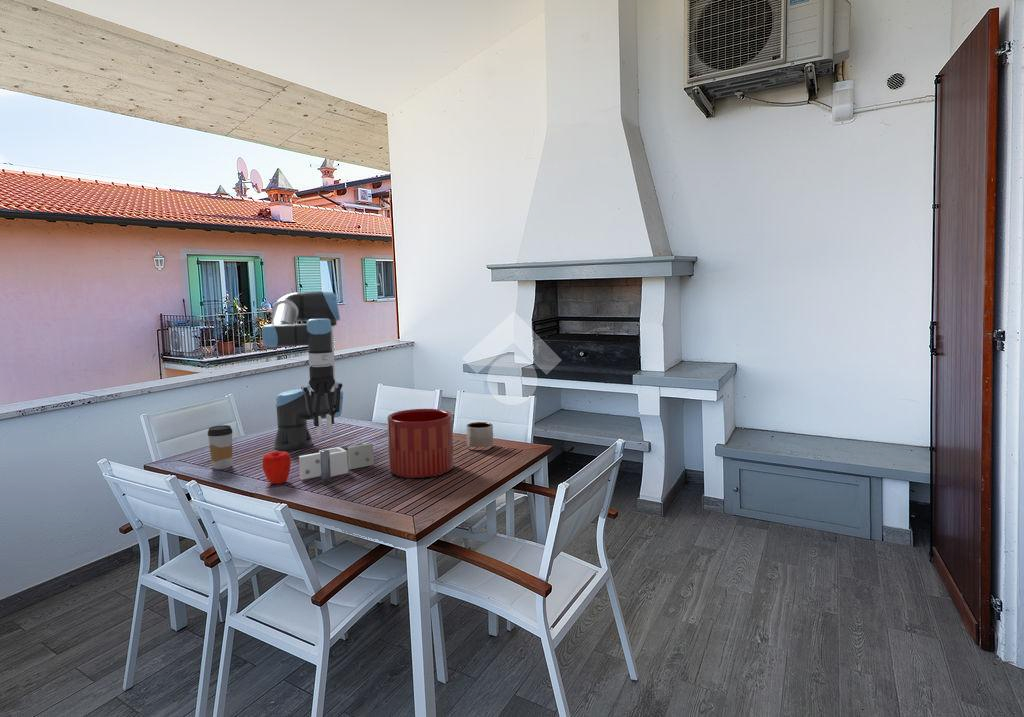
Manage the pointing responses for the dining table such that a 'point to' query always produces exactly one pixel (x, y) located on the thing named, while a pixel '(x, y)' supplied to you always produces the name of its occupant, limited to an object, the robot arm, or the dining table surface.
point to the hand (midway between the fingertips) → (324, 434)
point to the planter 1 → (420, 442)
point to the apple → (277, 466)
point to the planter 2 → (479, 434)
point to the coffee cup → (220, 446)
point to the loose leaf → (360, 456)
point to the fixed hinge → (312, 463)
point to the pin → (325, 466)
